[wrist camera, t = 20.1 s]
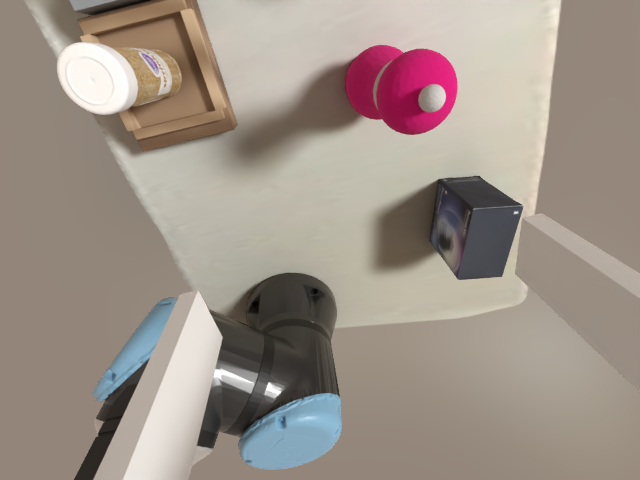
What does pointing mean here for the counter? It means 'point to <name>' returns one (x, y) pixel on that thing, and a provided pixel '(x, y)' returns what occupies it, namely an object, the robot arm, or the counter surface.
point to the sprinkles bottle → (116, 76)
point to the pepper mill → (402, 87)
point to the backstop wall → (101, 5)
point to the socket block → (192, 58)
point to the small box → (473, 227)
